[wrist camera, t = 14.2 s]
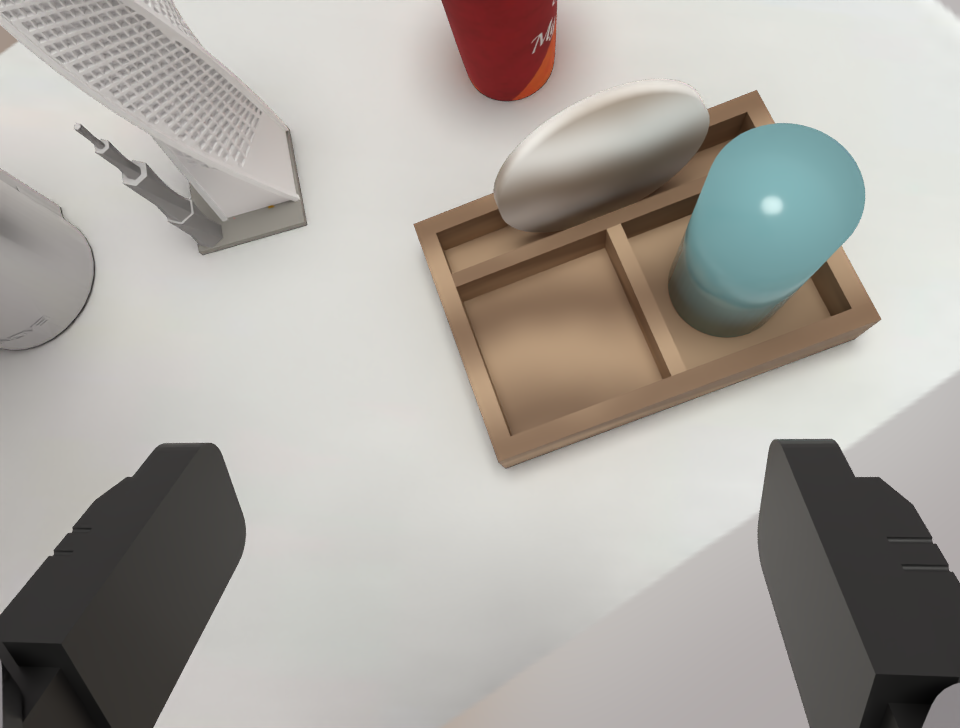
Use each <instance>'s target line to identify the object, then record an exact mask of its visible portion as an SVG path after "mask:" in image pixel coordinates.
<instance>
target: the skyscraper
mask: <svg viewBox="0 0 960 728" xmlns="http://www.w3.org/2000/svg"><path fill="white" fill-rule="evenodd" d="M0 25H1V26H2V27H3V28H4V29H6V30H7V31H8V32H9V33H10V34H11V35H12V36H13V37H15V38H16V39H17V40H18V41H19V42H20V43H21V44H23V45H24V46H25V47H26V48H28V49H29V50H30V51H31V52H33V53H34V54H35V55H36V56H37V57H39V58H40V59H41V60H42V61H44V62H45V63H46V64H47V65H49V66H50V67H51V68H52V69H54V70H55V71H56V72H57V73H59V74H60V75H62V76H63V77H64V78H66V79H67V80H68V81H70V82H71V83H72V84H74V85H75V86H77V87H78V88H79V89H81V90H82V91H83V92H85V93H86V94H87V95H89V96H90V97H92V98H93V99H95V100H96V101H98V102H99V103H101V104H102V105H104V106H105V107H107V108H108V109H110V110H111V111H113V112H114V113H116V114H117V115H119V116H120V117H122V118H124V119H125V120H127V121H129V122H130V123H132V124H134V125H135V126H137V127H139V128H140V129H142V130H143V131H145V132H147V133H148V134H150V135H151V136H152V137H153V139H154V140H155V141H156V142H157V144H158V145H159V146H160V147H161V149H162V150H163V151H164V152H165V153H166V155H167V156H168V157H169V158H170V159H171V161H172V162H173V163H174V164H175V165H176V167H177V168H178V169H179V170H180V171H181V173H182V174H183V175H184V176H185V177H186V179H187V180H188V181H189V184H190V192H191V199H188V198H184V197H182V196H180V195H179V194H177V193H175V192H174V191H173V190H171V189H170V188H169V187H168V186H167V185H166V184H165V183H164V182H163V181H162V180H161V179H160V178H159V177H158V176H157V175H156V174H155V173H154V172H153V170H152V169H151V168H150V167H149V166H148V165H147V164H146V163H144V162H139V161H135V160H132V161H129V160H128V159H126V158H125V157H124V156H123V155H122V154H121V153H120V152H119V151H118V150H117V149H116V148H115V147H114V146H113V145H112V144H111V143H110V142H109V141H108V140H103V139H101V140H98V139H97V138H96V137H94V136H93V135H92V134H91V133H90V132H89V131H88V130H87V129H86V128H84V127H83V126H82V125H81V124H79V123H76V124H75V125H74V129H75V130H76V131H78V132H79V133H80V134H82V135H83V136H84V137H86V138H87V139H88V140H90V141H91V142H92V143H93V144H94V145H95V152H96V153H97V154H99V155H100V156H101V157H103V158H104V159H106V160H107V161H109V162H110V163H111V164H113V165H114V166H116V167H117V168H118V169H119V170H120V171H121V172H122V179H123V184H125V185H126V186H128V187H129V188H131V189H132V190H134V191H135V192H137V193H138V194H140V195H141V196H143V197H144V198H146V199H147V200H149V201H150V202H152V203H153V204H155V205H156V206H157V207H158V208H159V209H160V210H161V211H162V212H163V213H164V214H165V215H166V216H167V219H168V222H170V223H172V224H173V225H175V226H176V227H178V228H180V229H181V230H183V231H185V232H186V233H188V234H190V235H191V236H192V237H193V239H194V240H195V241H196V242H197V243H198V249H199V253H201V254H202V255H204V254H207V253H211V252H214V251H218V250H221V249H225V248H228V247H232V246H235V245H239V244H242V243H246V242H249V241H253V240H256V239H260V238H263V237H267V236H270V235H274V234H277V233H281V232H284V231H288V230H291V229H295V228H298V227H301V226H305V225H307V222H306V216H305V211H304V206H303V200H302V195H301V189H300V184H299V179H298V173H297V168H296V163H295V157H294V152H293V146H292V141H291V136H290V130H289V128H288V127H287V126H286V125H285V124H284V123H283V121H282V120H281V119H280V118H279V117H278V116H277V115H276V114H275V113H274V112H273V111H272V110H271V109H270V108H269V107H268V106H267V105H266V104H265V103H264V102H263V101H262V100H261V99H260V98H259V97H258V96H257V95H256V94H255V93H254V92H253V91H252V90H251V89H250V88H249V87H248V86H247V85H246V84H244V83H243V82H242V81H241V80H240V79H239V78H238V77H237V76H236V75H235V74H233V73H232V72H231V71H230V70H229V69H228V68H227V67H225V66H224V65H223V64H222V63H221V62H220V61H218V60H217V59H216V58H215V57H214V56H212V55H211V54H210V53H209V52H208V51H206V50H205V49H204V48H203V46H202V45H201V44H200V42H199V41H198V40H197V38H196V37H195V36H194V34H193V33H192V32H191V30H190V29H189V27H188V26H187V24H186V23H185V21H184V20H183V18H182V17H181V15H180V13H179V12H178V10H177V8H176V7H175V5H174V2H173V0H0Z"/></svg>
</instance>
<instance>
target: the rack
mask: <svg viewBox="0 0 960 728" xmlns="http://www.w3.org/2000/svg"><path fill="white" fill-rule="evenodd" d="M768 124H775V123H774V121H773V119H772V117H771V115H770V113H769V112H768V110H767V108H766V106H765V104H764V102H763V101H762V99H761V97H760V95H759V93H758V91H757V90H755V91H753V92H750V93H748V94H745V95H743V96H740V97H737V98H735V99H732V100H730V101H727V102H725V103H722V104H720V105H717V106H714V107H712V108H709V109H707V108H706V106H705V104H704V102H703V100H702V98H701V96H700V95H699V93H698V92H697V91H696V89H694V88H693V87H692V86H690V85H689V84H686V83H684V82H681V81H677V80H672V79H648V80H641V81H635V82H630V83H626V84H623V85H619V86H615V87H612V88H610V89H607V90H604V91H601V92H599V93H596V94H594V95H592V96H589V97H587V98H585V99H583V100H581V101H579V102H577V103H575V104H573V105H571V106H569V107H568V108H566V109H564V110H563V111H561V112H559V113H558V114H556V115H554V116H553V117H552V118H550V119H549V120H547V121H546V122H544V123H543V124H542V125H540V126H539V127H538V128H537V129H535V130H534V131H533V132H532V133H531V134H529V135H528V136H527V137H526V138H525V139H524V140H523V141H522V142H521V143H520V144H519V145H518V146H517V147H516V148H515V149H514V150H513V152H512V153H511V154H510V155H509V156H508V158H507V159H506V161H505V162H504V164H503V165H502V167H501V169H500V171H499V173H498V175H497V178H496V181H495V184H494V193H492V194H490V195H487V196H484V197H482V198H479V199H477V200H474V201H472V202H469V203H467V204H464V205H461V206H459V207H456V208H454V209H451V210H449V211H446V212H444V213H441V214H438V215H436V216H433V217H431V218H428V219H426V220H423V221H421V222H418V223H415V224H414V227H415V230H416V233H417V235H418V238H419V241H420V244H421V247H422V249H423V252H424V255H425V258H426V261H427V263H428V266H429V269H430V272H431V275H432V277H433V280H434V283H435V286H436V288H437V291H438V294H439V297H440V300H441V302H442V305H443V308H444V311H445V314H446V316H447V319H448V322H449V325H450V328H451V330H452V333H453V336H454V339H455V342H456V344H457V347H458V350H459V353H460V356H461V358H462V361H463V364H464V367H465V370H466V372H467V375H468V378H469V381H470V384H471V386H472V389H473V392H474V395H475V398H476V400H477V403H478V406H479V409H480V412H481V414H482V417H483V420H484V423H485V426H486V428H487V431H488V434H489V437H490V440H491V442H492V445H493V448H494V451H495V454H496V456H497V459H498V462H499V463H500V464H501V465H502V466H504V467H505V468H509V467H511V466H514V465H517V464H519V463H522V462H525V461H527V460H530V459H533V458H535V457H538V456H541V455H544V454H546V453H549V452H552V451H554V450H557V449H560V448H562V447H565V446H568V445H570V444H573V443H576V442H579V441H581V440H584V439H587V438H589V437H592V436H595V435H597V434H600V433H603V432H605V431H608V430H611V429H614V428H616V427H619V426H622V425H624V424H627V423H630V422H632V421H635V420H638V419H640V418H643V417H646V416H649V415H651V414H654V413H657V412H659V411H662V410H665V409H667V408H670V407H673V406H675V405H678V404H681V403H684V402H686V401H689V400H692V399H694V398H697V397H700V396H702V395H705V394H708V393H710V392H713V391H716V390H719V389H721V388H724V387H727V386H729V385H732V384H735V383H737V382H740V381H743V380H745V379H748V378H751V377H754V376H756V375H759V374H762V373H764V372H767V371H770V370H772V369H775V368H778V367H780V366H783V365H786V364H789V363H791V362H794V361H797V360H799V359H802V358H805V357H807V356H810V355H813V354H815V353H818V352H821V351H823V350H826V349H829V348H832V347H834V346H837V345H840V344H842V343H845V342H848V341H850V340H853V339H855V338H857V337H858V336H859V335H861V334H862V333H864V332H865V331H866V330H868V329H869V328H870V327H872V326H873V325H874V324H876V323H877V322H878V321H880V320H881V318H880V316H879V314H878V312H877V310H876V309H875V307H874V305H873V303H872V301H871V299H870V298H869V296H868V294H867V292H866V290H865V288H864V287H863V285H862V283H861V281H860V279H859V277H858V275H857V274H856V272H855V270H854V268H853V266H852V264H851V263H850V261H849V259H848V257H847V255H846V253H845V252H844V250H843V248H842V246H840V247H839V248H838V249H837V250H836V251H835V253H834V254H833V255H832V256H831V257H830V258H829V259H828V260H827V261H826V262H825V263H824V264H823V265H822V266H821V267H820V268H819V269H818V270H817V271H816V272H815V273H814V274H813V275H812V276H811V277H810V278H809V279H808V280H807V281H806V282H805V283H804V284H803V285H802V286H801V288H800V289H799V290H798V291H797V292H796V293H795V294H794V295H793V296H792V297H791V298H790V299H789V300H788V301H787V302H786V303H785V304H784V305H783V306H782V307H781V308H780V309H779V310H778V311H777V312H776V313H775V314H774V315H773V316H772V317H771V318H770V319H769V320H768V321H767V322H766V323H765V324H764V325H763V326H762V327H760V328H758V329H757V330H755V331H753V332H751V333H749V334H746V335H743V336H738V337H728V338H726V337H716V336H711V335H708V334H705V333H703V332H700V331H698V330H696V329H695V328H693V327H691V326H690V325H689V324H688V323H686V322H685V321H684V320H683V319H682V318H681V317H680V315H679V314H678V313H677V311H676V310H675V308H674V306H673V304H672V301H671V299H670V295H669V290H668V277H669V271H670V268H671V265H672V263H673V260H674V258H675V255H676V253H677V250H678V248H679V245H680V243H681V240H682V238H683V235H684V233H685V230H686V228H687V225H688V223H689V220H690V218H691V215H692V213H693V210H694V208H695V205H696V203H697V200H698V198H699V195H700V193H701V190H702V188H703V186H704V183H705V181H706V178H707V176H708V173H709V171H710V168H711V166H712V164H713V162H714V160H715V158H716V157H717V155H718V154H719V152H720V151H721V150H722V149H723V148H724V147H725V146H726V145H727V144H728V143H729V142H730V141H731V140H733V139H734V138H736V137H737V136H739V135H740V134H742V133H744V132H746V131H748V130H750V129H753V128H756V127H759V126H763V125H768Z"/></svg>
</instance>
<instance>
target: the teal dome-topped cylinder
mask: <svg viewBox="0 0 960 728" xmlns="http://www.w3.org/2000/svg"><path fill="white" fill-rule="evenodd" d="M864 204H865V187H864V182H863V178H862V175H861V172H860V170H859V168H858V166H857V164H856V162H855V161H854V159H853V158H852V156H851V155H850V154H849V152H848V151H847V150H846V149H845V148H844V147H843V146H842V145H841V144H839V143H838V142H837V141H836V140H834V139H833V138H831V137H830V136H828V135H826V134H824V133H823V132H821V131H818V130H816V129H813V128H810V127H807V126H803V125H798V124H790V123H777V124H768V125H763V126H759V127H756V128H753V129H750V130H748V131H746V132H744V133H742V134H740V135H739V136H737V137H736V138H734V139H733V140H731V141H730V142H729V143H728V144H727V145H726V146H725V147H724V148H723V149H722V150H721V151H720V152H719V154H718V155H717V157H716V158H715V160H714V162H713V164H712V166H711V168H710V171H709V173H708V176H707V178H706V181H705V183H704V186H703V188H702V190H701V193H700V195H699V198H698V200H697V203H696V205H695V208H694V210H693V213H692V215H691V218H690V220H689V223H688V225H687V228H686V230H685V233H684V235H683V238H682V240H681V243H680V245H679V248H678V250H677V253H676V255H675V258H674V260H673V263H672V265H671V268H670V271H669V277H668V290H669V295H670V299H671V301H672V304H673V306H674V308H675V310H676V311H677V313H678V314H679V315H680V317H681V318H682V319H683V320H684V321H685V322H686V323H688V324H689V325H690V326H691V327H693V328H695V329H696V330H698V331H700V332H703V333H705V334H708V335H711V336H716V337H726V338H728V337H738V336H743V335H746V334H749V333H751V332H753V331H755V330H757V329H758V328H760V327H762V326H763V325H764V324H765V323H766V322H767V321H768V320H769V319H770V318H771V317H772V316H773V315H774V314H775V313H776V312H777V311H778V310H779V309H780V308H781V307H782V306H783V305H784V304H785V303H786V302H787V301H788V300H789V299H790V298H791V297H792V296H793V295H794V294H795V293H796V292H797V291H798V290H799V289H800V288H801V286H802V285H803V284H804V283H805V282H806V281H807V280H808V279H809V278H810V277H811V276H812V275H813V274H814V273H815V272H816V271H817V270H818V269H819V268H820V267H821V266H822V265H823V264H824V263H825V262H826V261H827V260H828V259H829V258H830V257H831V256H832V255H833V254H834V253H835V251H836V250H837V249H838V248H839V247H840V246H841V245H842V244H843V243H844V242H845V241H846V240H847V239H848V238H849V237H850V236H851V234H852V233H853V232H854V230H855V229H856V227H857V225H858V223H859V221H860V219H861V217H862V213H863V210H864Z"/></svg>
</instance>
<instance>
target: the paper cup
mask: <svg viewBox="0 0 960 728" xmlns="http://www.w3.org/2000/svg"><path fill="white" fill-rule="evenodd" d="M442 3H443V6H444V9H445V12H446V15H447V18H448V21H449V24H450V26H451V29H452V32H453V35H454V38H455V41H456V44H457V46H458V49H459V52H460V55H461V58H462V60H463V63H464V66H465V68H466V71H467V73H468V76H469V78H470V80H471V82H472V83H473V85H474V86H475V88H476V89H477V90H478V91H479V92H481V93H482V94H483V95H485V96H487V97H489V98H492V99H495V100H500V101H514V100H519V99H522V98H525V97H528V96H530V95H531V94H533V93H535V92H536V91H538V90H539V89H540V88H541V87H542V86H543V85H544V84H545V83H546V81H547V80H548V78H549V76H550V74H551V72H552V69H553V64H554V57H555V42H556V17H557V0H442Z"/></svg>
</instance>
